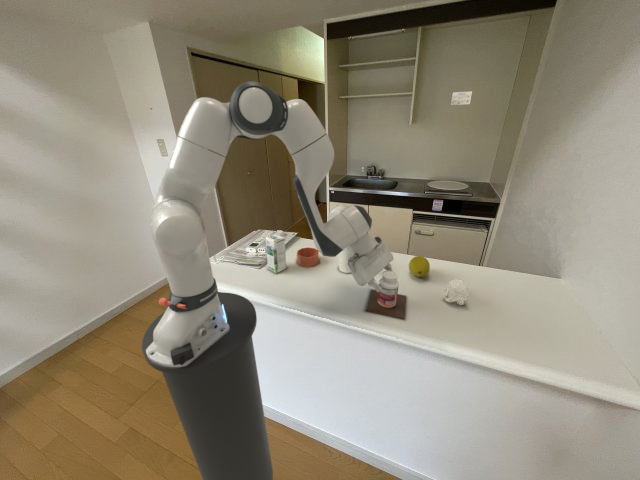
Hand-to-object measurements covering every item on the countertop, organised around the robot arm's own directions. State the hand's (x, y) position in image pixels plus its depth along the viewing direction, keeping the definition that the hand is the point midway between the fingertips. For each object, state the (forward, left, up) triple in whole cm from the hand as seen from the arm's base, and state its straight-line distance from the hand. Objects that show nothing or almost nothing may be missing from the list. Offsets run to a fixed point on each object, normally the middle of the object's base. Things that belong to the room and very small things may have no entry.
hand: (386, 283), depth 84 cm
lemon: (+22, -11, -8) cm, 26 cm away
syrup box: (+9, +45, -8) cm, 47 cm away
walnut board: (0, -1, -8) cm, 8 cm away
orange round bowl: (+19, +35, -8) cm, 41 cm away
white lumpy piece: (+11, -23, -8) cm, 27 cm away
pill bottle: (0, -1, -8) cm, 8 cm away
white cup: (+18, +17, -8) cm, 26 cm away
